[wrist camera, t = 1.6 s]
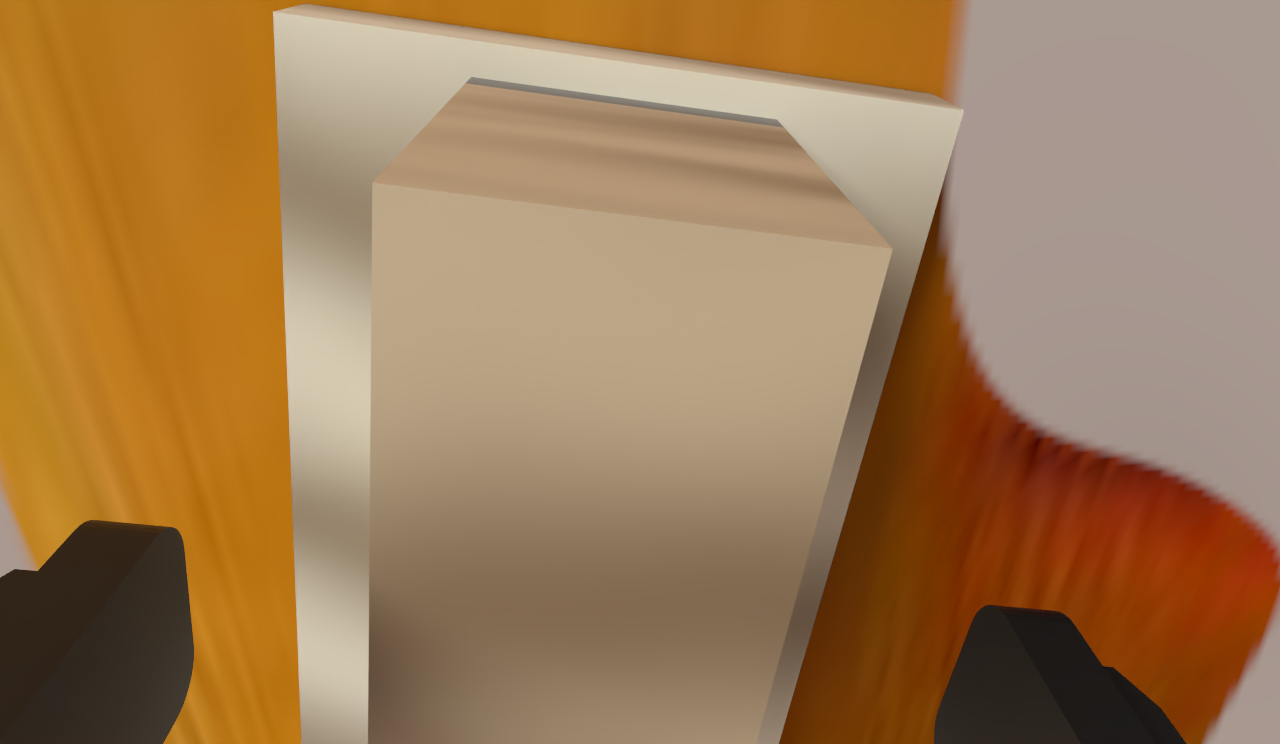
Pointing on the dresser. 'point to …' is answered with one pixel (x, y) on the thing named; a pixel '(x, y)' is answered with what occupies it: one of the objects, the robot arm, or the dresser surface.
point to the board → (342, 273)
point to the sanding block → (600, 415)
